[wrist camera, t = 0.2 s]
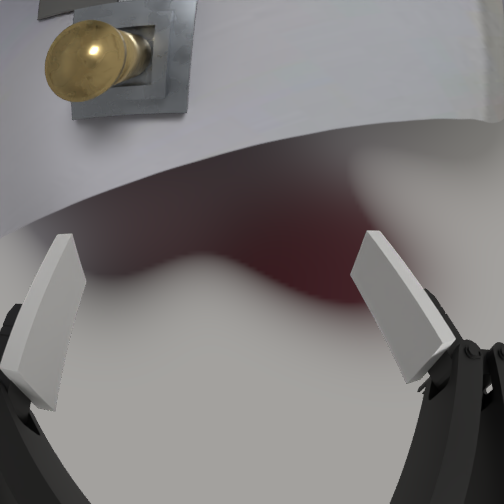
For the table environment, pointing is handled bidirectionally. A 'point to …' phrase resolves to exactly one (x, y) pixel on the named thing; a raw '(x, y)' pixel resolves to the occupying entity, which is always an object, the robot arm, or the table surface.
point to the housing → (161, 64)
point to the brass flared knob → (93, 60)
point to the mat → (65, 6)
